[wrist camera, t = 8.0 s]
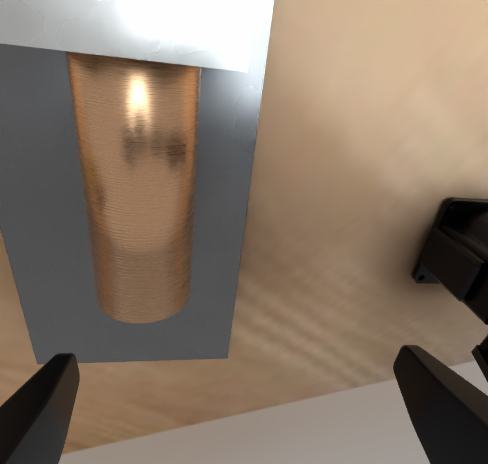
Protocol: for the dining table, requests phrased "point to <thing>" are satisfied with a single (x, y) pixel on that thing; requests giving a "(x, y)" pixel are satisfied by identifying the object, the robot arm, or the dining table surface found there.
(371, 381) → the dining table surface
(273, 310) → the dining table surface
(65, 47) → the frame
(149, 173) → the tube
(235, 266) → the plate
